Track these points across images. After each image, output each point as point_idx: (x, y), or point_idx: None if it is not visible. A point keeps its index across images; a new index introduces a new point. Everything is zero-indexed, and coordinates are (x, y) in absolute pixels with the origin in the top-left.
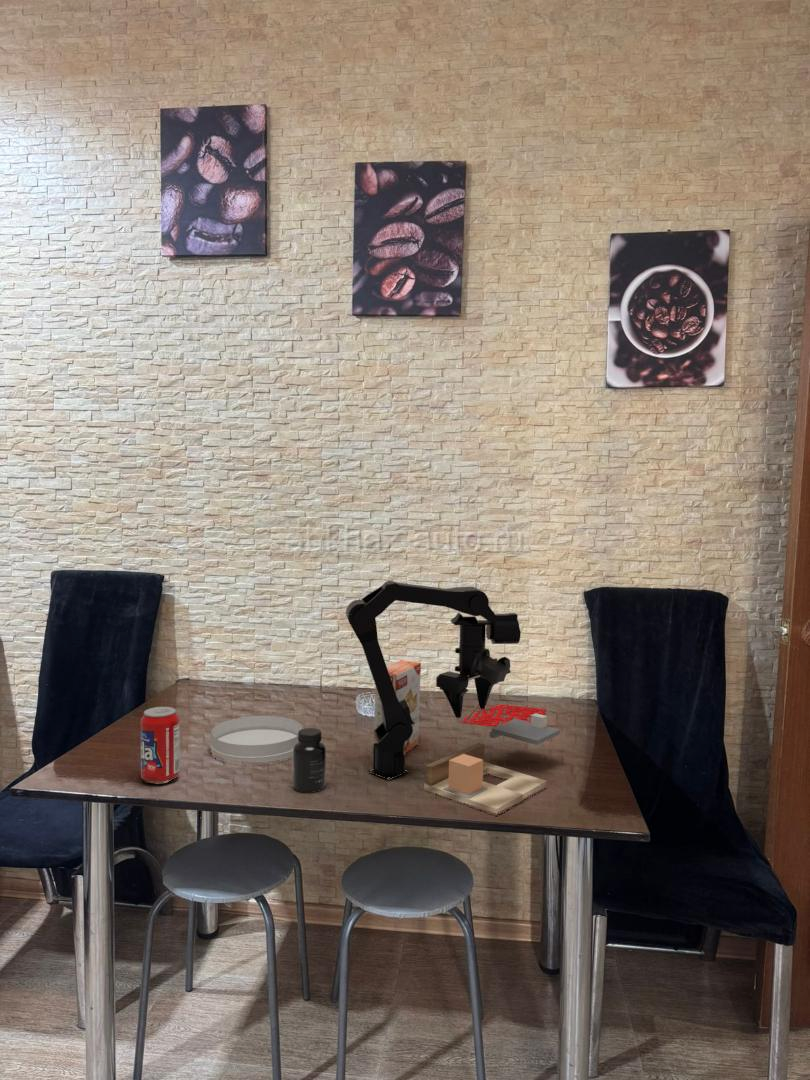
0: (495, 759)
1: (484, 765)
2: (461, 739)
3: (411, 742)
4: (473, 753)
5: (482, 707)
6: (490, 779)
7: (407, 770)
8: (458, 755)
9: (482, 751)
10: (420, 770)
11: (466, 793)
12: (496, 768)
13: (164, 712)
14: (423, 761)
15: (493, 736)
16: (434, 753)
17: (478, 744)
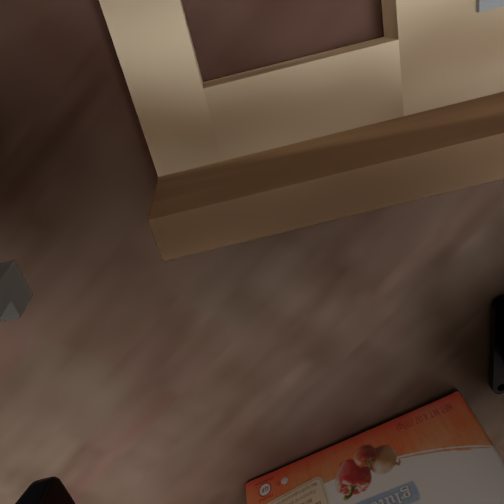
0: (20, 226)
1: (195, 126)
2: (35, 469)
3: (317, 483)
4: (273, 177)
5: (60, 500)
6: (237, 7)
7: (502, 302)
8: (458, 144)
9: (168, 198)
10: (431, 293)
11: None
12: (159, 43)
13: None
14: (346, 360)
15: (13, 272)
16: (244, 403)
17: (187, 237)
